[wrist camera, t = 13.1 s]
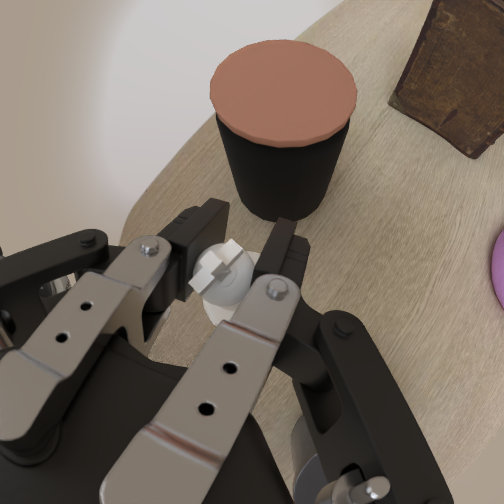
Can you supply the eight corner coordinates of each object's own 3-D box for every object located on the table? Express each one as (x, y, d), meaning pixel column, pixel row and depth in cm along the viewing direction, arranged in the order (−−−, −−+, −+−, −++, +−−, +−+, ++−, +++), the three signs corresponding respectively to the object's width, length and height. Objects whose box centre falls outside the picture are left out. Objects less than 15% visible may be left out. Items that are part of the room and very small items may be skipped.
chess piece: (308, 292, 17) (350, 256, 7) (247, 356, 17) (212, 400, 7) (245, 235, 18) (213, 141, 8) (186, 296, 18) (92, 264, 8)
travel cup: (275, 464, 30) (274, 526, 17) (306, 386, 32) (323, 423, 19) (356, 479, 28) (386, 536, 16) (389, 405, 30) (440, 441, 18)
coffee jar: (311, 140, 38) (327, 33, 20) (335, 216, 36) (381, 129, 18) (230, 156, 38) (200, 52, 21) (247, 235, 36) (221, 157, 18)
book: (483, 146, 36) (569, 51, 12) (472, 174, 35) (575, 74, 11) (402, 82, 39) (451, -40, 15) (384, 104, 39) (438, -34, 14)
